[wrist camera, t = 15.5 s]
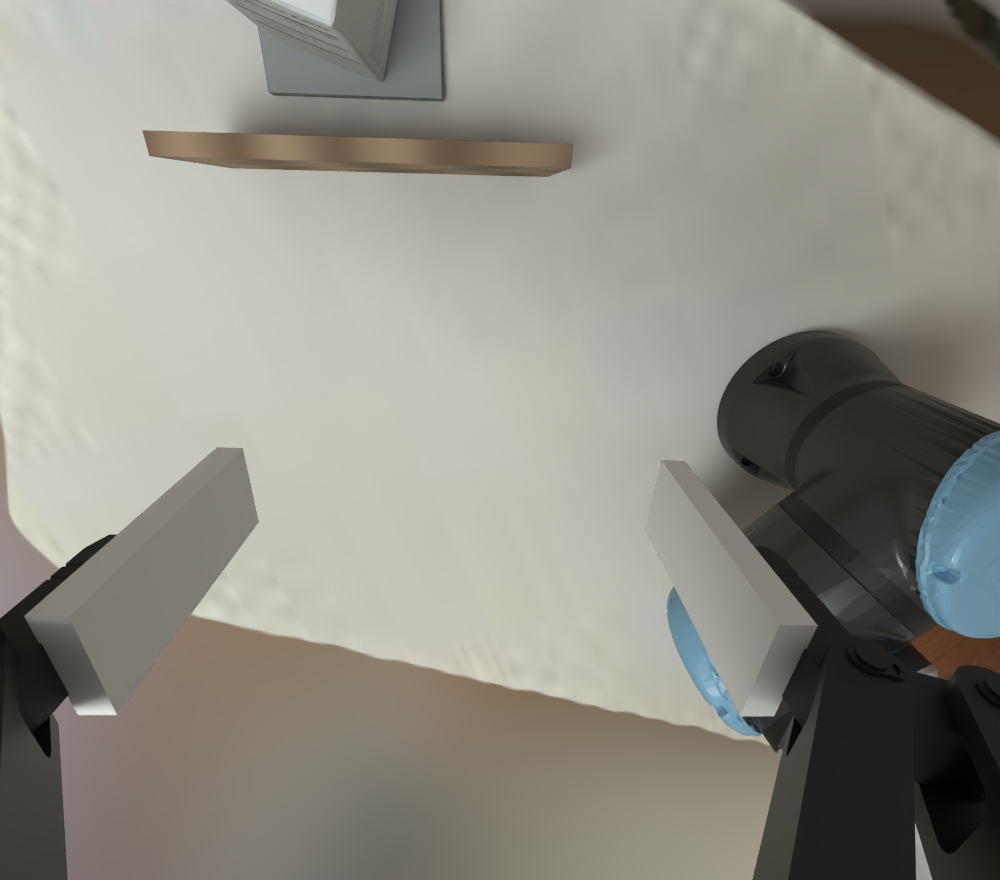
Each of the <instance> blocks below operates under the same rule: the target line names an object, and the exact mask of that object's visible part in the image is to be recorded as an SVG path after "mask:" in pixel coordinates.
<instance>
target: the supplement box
mask: <svg viewBox="0 0 1000 880" xmlns="http://www.w3.org/2000/svg"><path fill="white" fill-rule="evenodd" d="M226 1H228V2H229V3H230V4H231V5H232V6H234V7H235V8H236V9H237V10H239V11H240V12H241V13H242V14H243V15H245V16H246V17H247V18H248V19H250V20H251V21H252V22H253V23H255V24H256V25H257V26H258V27H260V28H261V29H262V30H263V31H264V32H266V33H267V34H268V35H269V36H270V37H272V38H273V39H274V40H276V41H277V42H279V43H282V44H285V45H287V46H290V47H293V48H295V49H298V50H300V51H303V52H305V53H308V54H310V55H313V56H316V57H318V58H321V59H323V60H326V61H328V62H331V63H333V64H336V65H338V66H341V67H343V68H346V69H348V70H351V71H353V72H356V73H358V74H361V75H363V76H366V77H368V78H371V79H374V80H376V81H379V82H383V78H384V73H385V68H386V63H387V57H388V52H389V46H390V40H391V35H392V29H393V23H394V17H395V11H396V6H397V0H226Z"/></svg>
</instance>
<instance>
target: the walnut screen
mask: <svg viewBox="0 0 1000 880" xmlns="http://www.w3.org/2000/svg"><path fill="white" fill-rule="evenodd" d="M143 134H144V137H145V141H146V145H147V148H148V152H149V156H154V157H161V158H167V159H174V160H181V161H188V162H194V163H201V164H208V165H214V166H221V167H228V168H246V169H282V170H319V171H355V172H391V173H428V174H464V175H500V176H537V177H548V176H551V175H553V174H556V173H559V172H561V171H564V170H567V169H569V168H571V160H572V147H573V144H558V143H526V142H494V141H462V140H431V139H399V138H367V137H335V136H303V135H271V134H239V133H208V132H176V131H144V130H143Z"/></svg>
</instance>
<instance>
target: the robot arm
mask: <svg viewBox="0 0 1000 880" xmlns="http://www.w3.org/2000/svg"><path fill="white" fill-rule="evenodd" d="M717 428H718V435H719V438H720V441H721V444H722V446H723V448H724V449H725V451H726V452H727V453H728V455H729V456H730V457H731V458H732V459H733V460H734V461H735V462H736V463H737V464H738V465H739V466H740V467H742V468H743V469H744V470H745V471H747V472H748V473H750V474H752V475H754V476H755V477H758V478H760V479H763V480H766V481H768V482H771V483H774V484H777V485H779V486H782V487H785V488H787V489H790V490H793V492H792V493H791V494H790V495H789V496H787V497H786V498H785V499H783V500H782V501H781V502H780V503H778V504H776V505H775V506H774V507H772V508H771V509H770V510H769V511H767V512H766V513H765V514H764V515H762V516H761V517H760V518H758V519H757V520H756V521H755V522H753V523H752V524H751V525H749V526H748V527H747V528H746V529H744V530H743V531H741V530H740V529H739V527H738V526H737V525H736V524H735V523H734V521H733V520H732V519H731V518H730V516H729V515H728V514H727V513H726V511H725V510H724V509H723V508H722V506H721V505H720V504H719V503H718V502H717V500H716V499H715V498H714V497H713V495H712V494H711V493H710V492H709V490H708V489H707V488H706V487H705V485H704V484H703V483H702V482H701V480H700V479H699V478H698V477H697V476H696V474H695V473H694V472H693V471H692V469H691V468H690V467H689V466H688V464H687V463H686V462H685V461H666V460H661V465H660V469H659V473H658V478H657V482H656V486H655V491H654V495H653V500H652V504H651V508H650V513H649V517H648V521H647V526H646V532H647V534H648V536H649V538H650V540H651V542H652V544H653V546H654V548H655V550H656V552H657V554H658V556H659V558H660V560H661V562H662V564H663V566H664V568H665V570H666V571H667V573H668V575H669V577H670V579H671V581H672V583H673V585H674V587H673V588H672V590H671V592H670V594H669V597H668V603H667V610H668V612H667V616H668V623H669V627H670V631H671V634H672V638H673V640H674V643H675V646H676V648H677V651H678V653H679V655H680V657H681V659H682V661H683V663H684V665H685V667H686V669H687V671H688V673H689V675H690V677H691V678H692V680H693V682H694V683H695V685H696V687H697V688H698V690H699V691H700V693H701V694H702V696H703V697H704V698H705V700H706V701H707V702H708V704H709V705H711V706H714V707H715V709H716V711H717V713H718V715H719V717H720V718H721V719H722V720H723V721H724V722H725V723H726V724H727V725H728V726H729V727H730V728H732V729H733V730H735V731H737V732H738V733H740V734H742V735H746V736H750V735H753V736H760V735H762V734H763V735H764V736H765V738H766V739H767V741H768V742H769V744H770V745H771V747H772V748H773V750H774V751H775V752H776V754H777V755H778V756H779V757H780V758H781V761H780V764H779V769H778V773H777V777H776V782H775V786H774V790H773V794H772V799H771V803H770V807H769V812H768V816H767V821H766V825H765V829H764V833H763V837H762V842H761V846H760V850H759V854H758V859H757V863H756V867H755V871H754V876H753V880H1000V673H997V672H995V671H992V670H990V669H987V668H984V667H979V666H974V665H965V666H959V667H958V669H957V670H956V671H955V672H954V673H953V675H952V676H951V678H950V679H949V680H945V679H942V678H938V671H937V669H936V668H935V666H934V665H932V664H931V663H930V662H929V661H928V660H927V659H926V658H925V657H924V656H923V655H922V654H921V653H920V652H919V651H918V650H917V649H916V648H915V647H914V646H913V645H912V641H913V640H914V639H915V638H917V636H918V637H919V636H921V635H922V634H924V633H926V632H927V631H929V630H931V629H932V628H934V627H936V626H937V625H939V624H940V625H941V626H942V627H944V628H946V629H948V630H952V631H955V632H957V633H958V634H961V635H964V636H967V637H972V638H995V637H1000V424H999V423H996V422H994V421H992V420H989V419H987V418H984V417H982V416H979V415H977V414H974V413H972V412H970V411H967V410H965V409H962V408H960V407H957V406H955V405H953V404H950V403H948V402H945V401H943V400H940V399H938V398H935V397H933V396H931V395H928V394H926V393H923V392H921V391H918V390H915V389H913V388H911V387H908V386H906V385H904V384H902V383H901V382H900V381H899V380H898V379H897V377H896V376H895V375H894V374H893V373H892V372H891V371H890V370H889V369H888V368H887V367H886V366H885V365H884V364H883V363H882V362H881V361H880V359H879V358H878V357H877V356H876V355H875V354H874V353H873V352H872V351H871V350H870V349H868V348H867V347H866V346H864V345H862V344H861V343H859V342H856V341H854V340H851V339H849V338H846V337H843V336H840V335H837V334H834V333H830V332H820V331H814V332H804V333H799V334H795V335H791V336H788V337H785V338H783V339H780V340H778V341H776V342H774V343H772V344H770V345H769V346H767V347H765V348H764V349H762V350H761V351H759V352H758V353H757V354H755V355H754V356H753V357H752V358H751V359H749V360H748V361H747V362H746V363H745V364H744V365H743V366H742V367H741V368H740V370H739V371H738V372H737V373H736V374H735V376H734V377H733V379H732V380H731V382H730V383H729V385H728V387H727V388H726V390H725V392H724V395H723V397H722V400H721V403H720V406H719V410H718V417H717ZM258 522H259V521H258V516H257V512H256V507H255V502H254V498H253V493H252V489H251V484H250V479H249V475H248V470H247V466H246V461H245V456H244V452H243V448H219V447H217V448H216V449H215V450H214V451H212V452H211V453H210V454H209V455H208V456H207V457H206V458H204V459H203V460H202V461H201V462H200V463H199V464H198V465H196V466H195V467H194V468H193V469H192V470H191V471H190V472H188V473H187V474H186V475H185V476H184V477H183V478H182V479H180V480H179V481H178V482H177V483H176V484H175V485H174V486H172V487H171V488H170V489H169V490H168V491H167V492H166V493H164V494H163V495H162V496H161V497H160V498H159V499H158V500H156V501H155V502H154V503H153V504H152V505H151V506H149V507H148V508H147V509H146V510H145V511H144V512H143V513H141V514H140V515H139V516H138V517H137V518H136V519H135V520H133V521H132V522H131V523H130V524H129V525H128V526H127V527H125V528H124V529H123V530H122V531H121V532H120V533H119V534H117V535H108V536H106V537H104V538H102V539H100V540H99V541H97V542H95V543H93V544H91V545H89V546H87V547H86V548H84V549H83V550H82V551H80V552H79V553H78V554H77V555H76V556H75V557H73V558H72V559H71V560H70V561H69V562H67V563H66V566H65V567H61V568H60V569H59V570H58V571H57V572H55V573H54V574H53V575H52V576H51V579H50V580H46V581H45V582H43V583H42V584H41V585H40V586H39V587H38V588H36V589H35V590H34V591H33V592H31V593H30V594H29V595H28V596H27V597H25V598H24V599H23V600H22V601H21V602H19V603H18V604H17V605H16V606H15V607H13V608H12V609H11V610H10V611H9V612H7V613H6V614H5V615H4V616H3V617H1V618H0V880H67V864H66V847H65V829H64V813H63V796H62V778H61V761H60V745H59V728H58V723H57V721H56V719H55V717H54V715H53V712H54V711H55V710H56V709H57V707H58V706H59V705H60V704H61V703H62V702H63V700H64V699H65V698H66V697H67V696H68V697H69V699H70V701H71V703H72V705H73V706H74V708H75V710H76V712H77V714H78V715H117V714H118V713H119V711H120V710H121V709H122V707H123V706H124V705H125V703H126V702H127V700H128V699H129V697H130V696H131V695H132V694H133V692H134V691H135V690H136V688H137V687H138V686H139V684H140V683H141V681H142V680H143V679H144V677H145V676H146V675H147V673H148V672H149V671H150V669H151V668H152V666H153V665H154V664H155V662H156V661H157V660H158V658H159V657H160V655H161V654H162V653H163V651H164V650H165V649H166V647H167V646H168V645H169V643H170V642H171V641H172V639H173V638H174V637H175V635H176V634H177V632H178V631H179V630H180V628H181V627H182V626H183V624H184V623H185V622H186V620H187V619H188V617H189V616H190V615H191V613H192V612H193V611H194V609H195V608H196V607H197V605H198V604H199V602H200V601H201V600H202V598H203V597H204V596H205V594H206V593H207V592H208V590H209V589H210V587H211V586H212V585H213V583H214V582H215V581H216V579H217V578H218V577H219V575H220V574H221V572H222V571H223V570H224V568H225V567H226V566H227V564H228V563H229V562H230V560H231V559H232V557H233V556H234V555H235V553H236V552H237V551H238V549H239V548H240V547H241V545H242V544H243V543H244V541H245V540H246V538H247V537H248V536H249V534H250V533H251V532H252V530H253V529H254V528H255V526H256V525H257V523H258Z"/></svg>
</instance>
